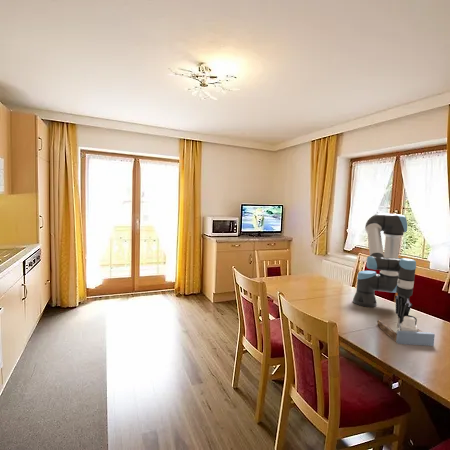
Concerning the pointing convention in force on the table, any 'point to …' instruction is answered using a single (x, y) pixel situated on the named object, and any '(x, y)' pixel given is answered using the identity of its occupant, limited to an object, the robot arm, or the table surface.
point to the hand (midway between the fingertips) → (399, 328)
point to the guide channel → (389, 330)
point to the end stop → (415, 338)
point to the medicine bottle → (409, 323)
